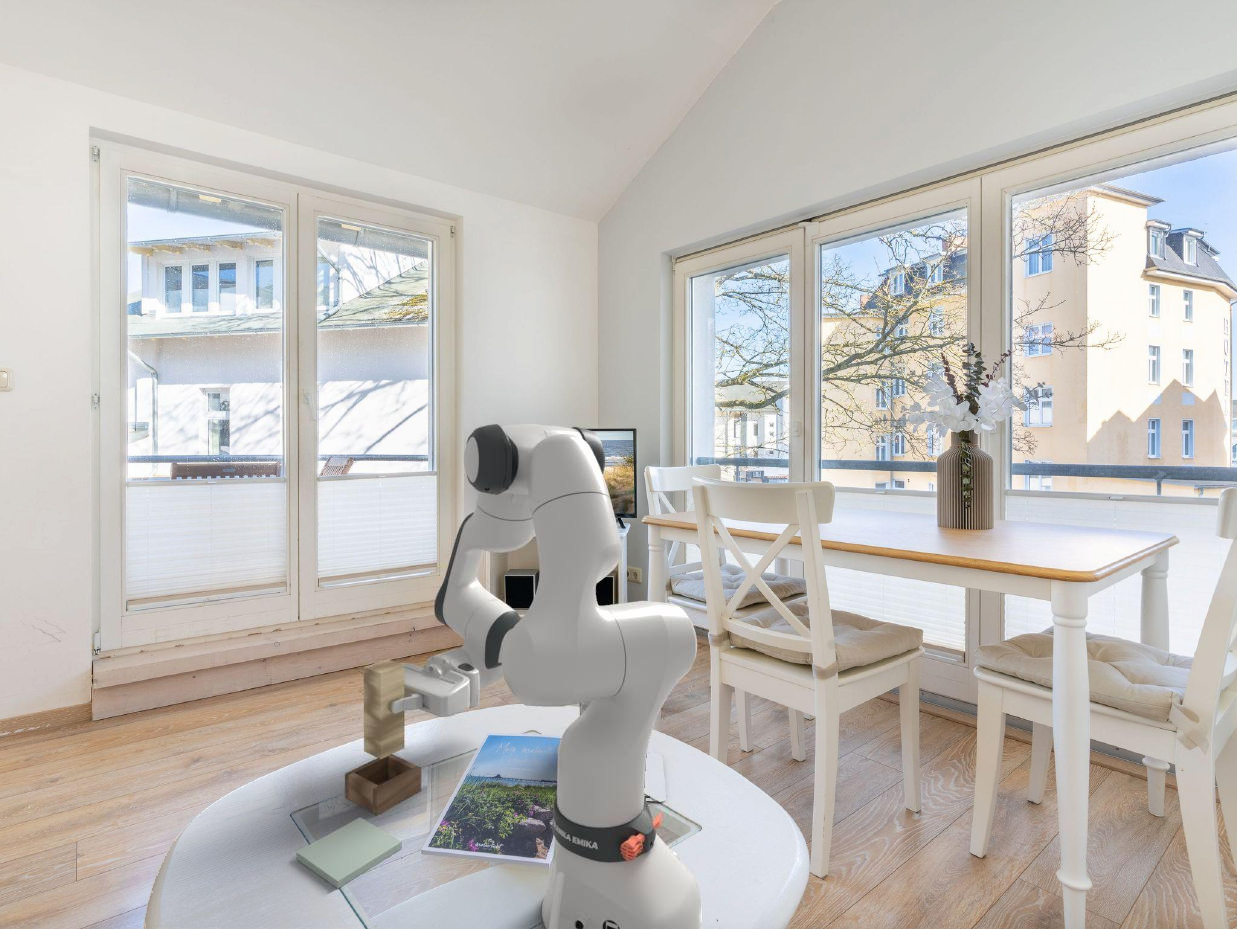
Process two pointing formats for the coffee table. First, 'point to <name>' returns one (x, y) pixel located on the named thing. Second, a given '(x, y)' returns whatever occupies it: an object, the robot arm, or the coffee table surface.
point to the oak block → (383, 708)
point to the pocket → (388, 794)
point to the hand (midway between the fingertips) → (379, 703)
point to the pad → (348, 851)
